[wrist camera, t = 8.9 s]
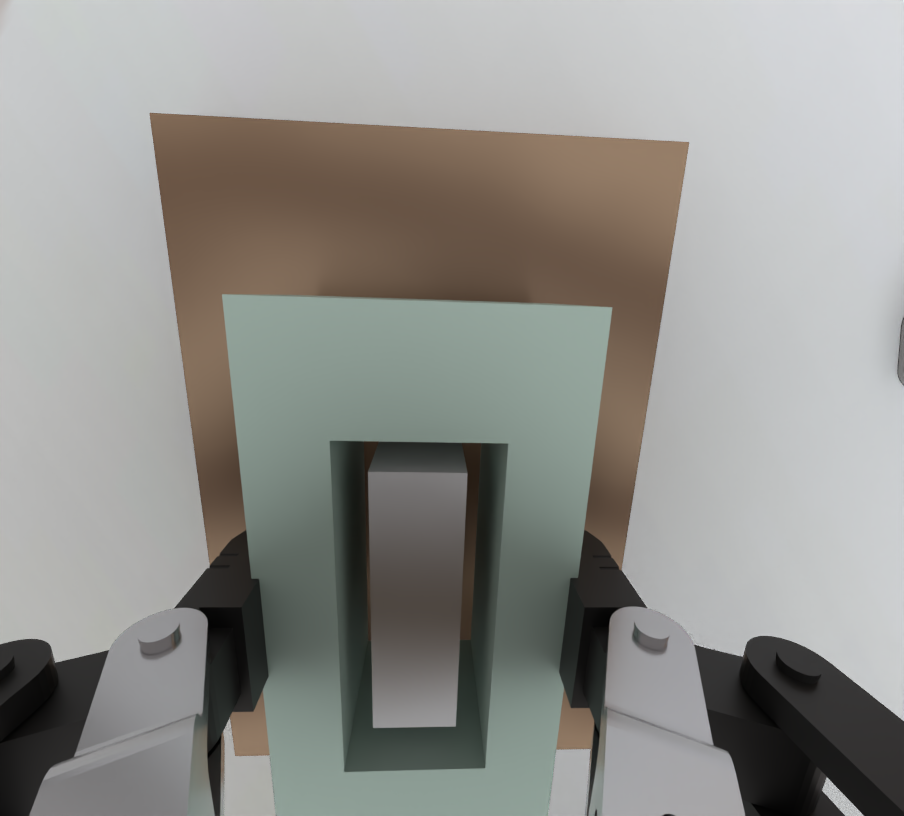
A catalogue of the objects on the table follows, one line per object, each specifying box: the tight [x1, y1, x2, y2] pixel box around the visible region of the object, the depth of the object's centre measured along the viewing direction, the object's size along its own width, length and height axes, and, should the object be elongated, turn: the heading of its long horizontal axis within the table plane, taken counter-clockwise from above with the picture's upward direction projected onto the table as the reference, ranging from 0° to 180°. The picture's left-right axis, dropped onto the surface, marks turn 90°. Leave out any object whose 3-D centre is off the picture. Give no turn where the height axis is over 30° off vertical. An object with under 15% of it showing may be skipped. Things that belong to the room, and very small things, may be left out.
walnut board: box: [150, 113, 689, 756], centre depth 12 cm, size 20×13×6 cm, turn 178°
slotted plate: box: [222, 294, 612, 816], centre depth 10 cm, size 12×6×4 cm, turn 178°
